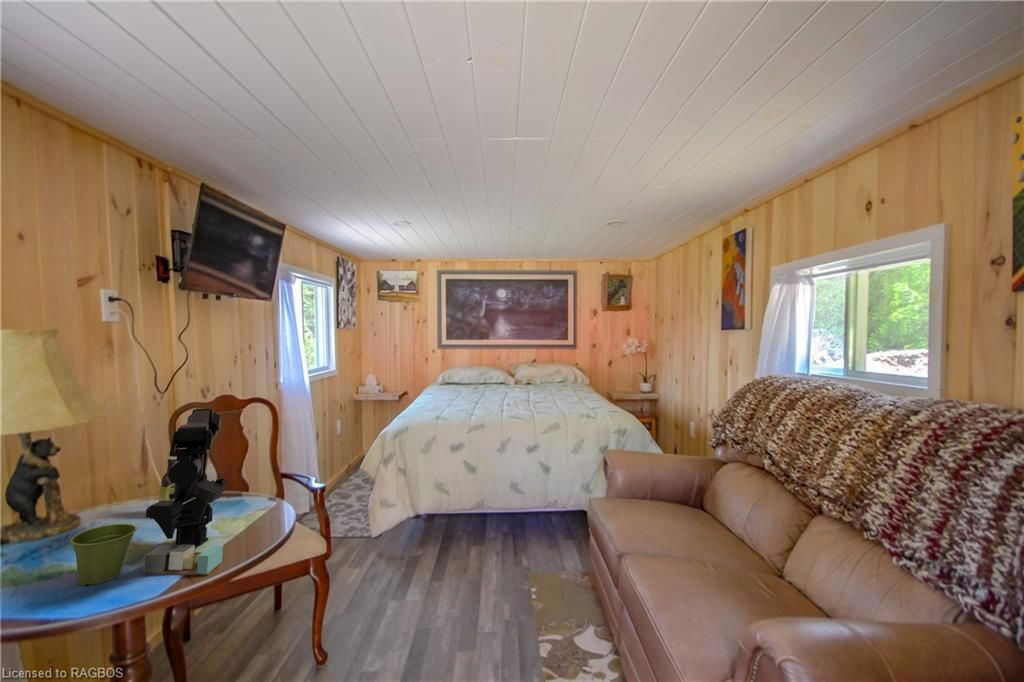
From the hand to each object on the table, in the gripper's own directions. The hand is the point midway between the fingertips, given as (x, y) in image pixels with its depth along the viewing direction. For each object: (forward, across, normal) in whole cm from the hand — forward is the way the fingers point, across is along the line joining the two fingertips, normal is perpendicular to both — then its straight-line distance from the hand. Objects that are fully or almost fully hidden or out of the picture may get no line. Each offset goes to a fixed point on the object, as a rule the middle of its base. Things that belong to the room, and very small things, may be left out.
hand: (184, 530), depth 102 cm
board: (+10, 0, -1) cm, 10 cm away
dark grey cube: (+10, 0, +5) cm, 11 cm away
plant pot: (+11, -4, +16) cm, 20 cm away
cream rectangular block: (+10, 0, +2) cm, 10 cm away
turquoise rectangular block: (+10, 0, -8) cm, 12 cm away
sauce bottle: (+11, +33, +29) cm, 45 cm away
